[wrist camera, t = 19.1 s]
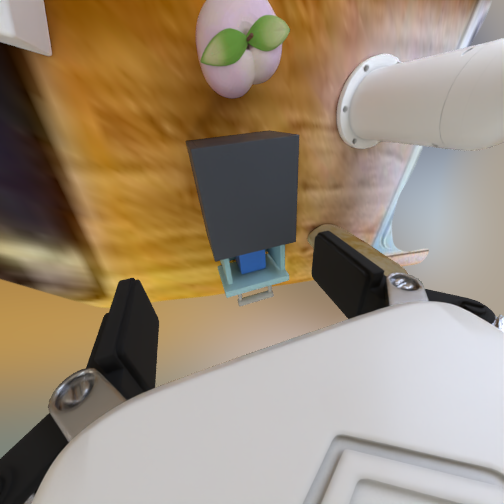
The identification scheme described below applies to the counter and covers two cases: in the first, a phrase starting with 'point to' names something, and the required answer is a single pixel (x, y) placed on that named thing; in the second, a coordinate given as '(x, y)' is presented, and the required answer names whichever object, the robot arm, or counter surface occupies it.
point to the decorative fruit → (238, 44)
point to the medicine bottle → (25, 25)
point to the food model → (359, 248)
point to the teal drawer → (254, 276)
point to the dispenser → (247, 190)
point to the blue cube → (251, 261)
